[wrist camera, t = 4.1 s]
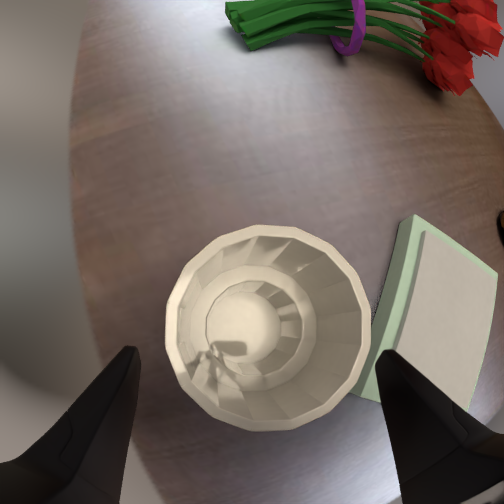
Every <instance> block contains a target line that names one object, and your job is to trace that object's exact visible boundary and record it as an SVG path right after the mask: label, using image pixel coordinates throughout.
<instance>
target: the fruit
mask: <svg viewBox="0 0 504 504" xmlns="http://www.w3.org/2000/svg"><path fill="white" fill-rule="evenodd" d="M499 218H500V220H501V225H502V227H503V228H504V211H503V212H502V213H501V214H500V216H499Z"/></svg>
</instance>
